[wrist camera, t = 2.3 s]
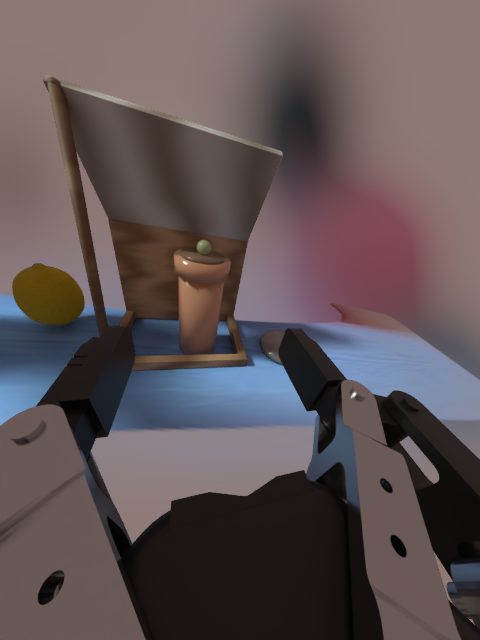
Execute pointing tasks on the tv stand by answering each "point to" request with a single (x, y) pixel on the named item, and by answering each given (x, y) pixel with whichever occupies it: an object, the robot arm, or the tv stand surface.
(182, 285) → the pot
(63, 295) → the lemon
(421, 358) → the tv stand surface
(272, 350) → the grey-brown flat disc
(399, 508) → the robot arm
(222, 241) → the cold frame
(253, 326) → the tv stand surface
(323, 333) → the tv stand surface
